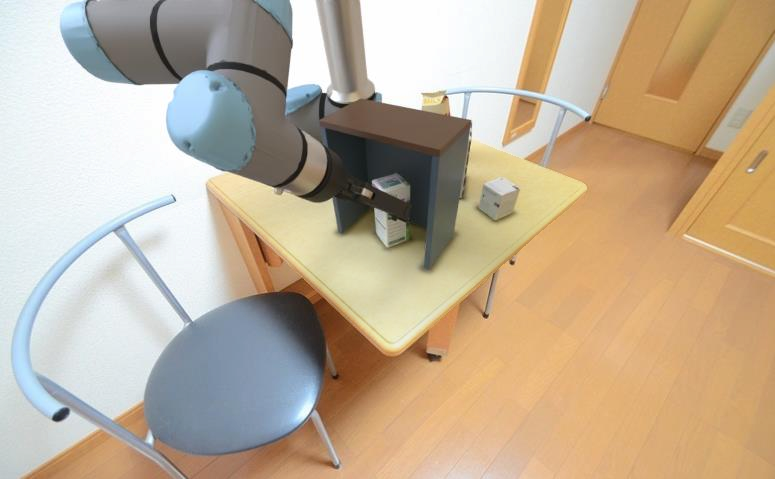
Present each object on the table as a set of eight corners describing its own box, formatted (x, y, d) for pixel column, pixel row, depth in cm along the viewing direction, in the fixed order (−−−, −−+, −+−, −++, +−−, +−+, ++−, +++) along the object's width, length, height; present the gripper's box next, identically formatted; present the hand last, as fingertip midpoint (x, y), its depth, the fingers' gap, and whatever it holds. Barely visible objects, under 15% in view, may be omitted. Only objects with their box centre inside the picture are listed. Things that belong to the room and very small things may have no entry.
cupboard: (338, 232, 73) (318, 120, 56) (368, 204, 81) (360, 98, 64) (428, 270, 64) (440, 149, 46) (453, 234, 72) (471, 119, 54)
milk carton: (451, 153, 100) (459, 86, 87) (438, 165, 95) (445, 96, 81) (425, 146, 104) (429, 81, 91) (412, 158, 98) (414, 90, 85)
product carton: (477, 208, 79) (482, 183, 74) (495, 200, 81) (501, 175, 76) (495, 221, 75) (502, 195, 70) (513, 213, 77) (521, 187, 72)
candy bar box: (446, 175, 91) (452, 118, 80) (464, 176, 90) (473, 119, 79) (443, 197, 83) (450, 137, 71) (462, 199, 82) (472, 138, 71)
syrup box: (387, 248, 69) (385, 192, 59) (375, 233, 73) (371, 178, 63) (409, 240, 71) (411, 184, 61) (397, 225, 75) (396, 171, 65)
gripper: (231, 171, 45) (318, 203, 65) (375, 227, 35) (428, 245, 55) (249, 121, 45) (331, 168, 65) (399, 164, 35) (443, 204, 54)
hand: (375, 204), depth 60 cm, fingers open, 13 cm apart
